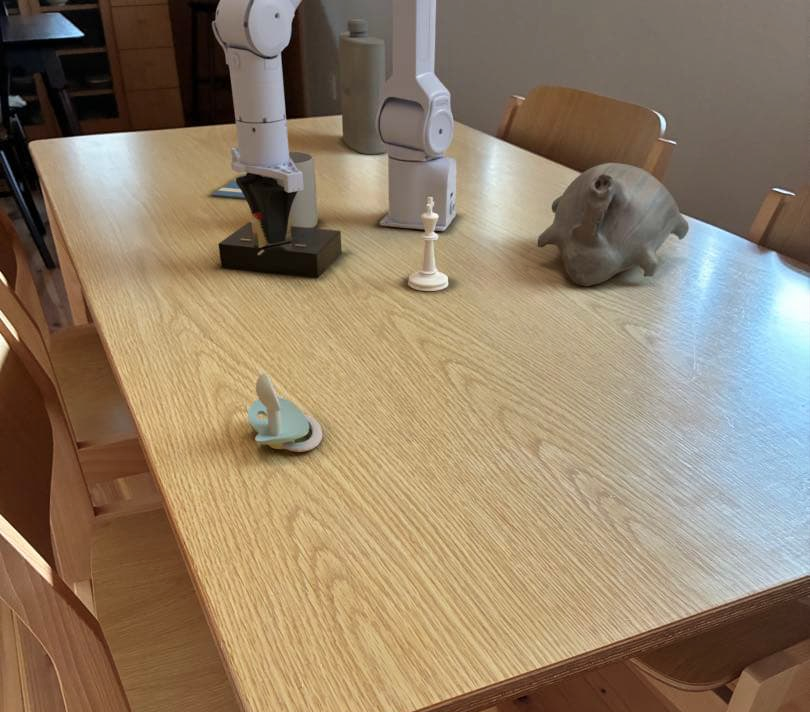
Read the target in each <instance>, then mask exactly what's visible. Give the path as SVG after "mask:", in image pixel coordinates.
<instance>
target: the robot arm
mask: <svg viewBox="0 0 810 712" xmlns="http://www.w3.org/2000/svg"><path fill="white" fill-rule="evenodd" d="M302 1H303V0H219V2H218V4H217V7H216V10H215V20H213V21H212V22H211V26H212V31H213V34H214V37H215V38H216V40H217V42H218V43H219V45H220V46H221V48H222V49H223V52H224V56H225V64H226V65H228V68H229V76H230V84H231V85H230V86H231V92H232V93H231V94H232V103H233V111H234V118H235V119H234V120H235V127H236V137H237V145H238V146H237V147H231V148H230V154H231V155H230V156H231V163H230V167H231V170H233V171H235V172H236V173H244V172H245V175H246V176H242V175H241V176H242V177H240V176H238V177H236V178H235V179H236V183H237V185H238V186H239V188H240V189H241V191H242V193H243V194H244V196H245V198H246V199H245V200H246V203H247V202H248V203H247V206H248V207H249V209H250V212H251V215H252V214H253V213H258V212H260V213H261V216H262V221H263V226H264V230H265V235H266V238H267V240H268V243H270V244H274V243H279V242H283V241H285V239H286V233H287V226H288V219H289V214H290V210H291V206H292V203H293V200H294V198H295V196H296V194H297V192H298V191H301V190H304V189H303V175H302V172H301V171H299V170H298V169H297V168H296V166H295V165H294V163H293V161H292V160H291V158H290V157H289V151H290V150H289V138H288V137H289V136H288V126H287V125H288V124H287V123H288V122H287V113H286V102H285V101H286V100H285V87H284V75H283V74H284V73H283V64H282V63H283V62H282V52H283V50H285V48H286V47H288V45H289V43H290V40H291V37H292V23H293V19H294V17H295V15H296V14H295V12H296V10H297V9H298V8H299V5H300V4H301V2H302ZM436 16H437V0H392V74H391V76H390V77H389V78H388V79H387V80H386V81H385V84H384V85H383V86H382V87H381V89H380V103H379V108H378V111H377V114H376V121H375V127H376V133H377V136H378V138H379V140H380V141H381V143H382V144H384V153H386V154H387V160H388V161H387V163H388V165H387V166H388V171H387V172H388V173H387V174H388V177H387V178H388V179H387V181H388V213H387V214H386V215H385V216H384V217H383V218H382V219H381V220H380V221H379V225H380V226H382V227H393V228H403V229H414V230H424V231H425V229H424V225H423V222H422V219H421V215H422V214H424V213H427V212H428V209H426V205H427V204H428V197H433V202H434V206H433V207H432V212H433V213H436V214H437V215H438V216H439V217H438V221H437V223H436V227H435V230H434V232H436V231H437V232H444V231H446V230H447V228H448V227H449V225H450V224H451V223H452V221H453V220H454V219H455V217H456V215H457V212H456V197H457V176H458V175H457V173H458V171H457V161H456V159H455V158H454V157H450V156H445V153H446V152H447V150H448V148H449V147H450V145H451V142H452V140H453V137H454V132H455V131H454V130H455V122H454V116H453V112H452V109H451V93H450V91H449V90H448V88H446V86H445V84H443V83H442V82H441V80H440V79H439V78H438V77H437V75H436V74H435V63H436V62H435V59H436V58H435V57H436V56H435V55H436V23H437V22H436V21H437V20H436V19H437V17H436Z"/></svg>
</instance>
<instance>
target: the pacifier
mask: <svg viewBox="0 0 810 712" xmlns="http://www.w3.org/2000/svg"><path fill="white" fill-rule="evenodd" d="M255 391H256V395H257V399H255V400H254V401H253V402H252V403H251V404H250V405H249V408H248V409H247V410H248V411H247V420H248V422H249V425H250V427H251V428H252V429H253V430H254V431H255V432H256V433H258V434H256V436H255V438H254V440H255V443H256V444H258V445H268V446H269V447H270V448H272V449H275V450H287V451H291V452H298V453H300V452H308V451H311V450H313V449H314V448H316V447H317V446H318V445H319V444H320V443H321V441H322V439H323V430H322V427H321V425H320V424H319V422H318V420H316V419H315V418H314V417H313V416H310V415H309V414H306V413H303V411H302V410H301V409H300V408H299V407H298V406H297V405H296V404H294V403H293V402H291V401H290V400H289V399H286V398H284V397H279V396H278V395H277V393H276V390H275V388H274V385H273V383H272V380H271V379H270V377H269V376H268V374H267V373H266V372H265V373H262V374H260V375H259V377H258V378H257V380H256V384H255ZM259 415H264V416H265V418H259V417H258V416H259ZM309 431H311V433H312V434H311V435H310V437H309V438H308V439H307V440H305V441H302V442H301V441H300V442H295V440H298V439H301V438H303V437H305V436H306V435H308V433H309Z"/></svg>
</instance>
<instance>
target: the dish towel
mask: <svg viewBox="0 0 810 712" xmlns="http://www.w3.org/2000/svg"><path fill="white" fill-rule="evenodd" d="M242 176H246V174H242V175H240V176H239V177H242ZM211 197H215V198H217V197H218V198H228V199H238V200H246V198H245V196H244V194H243V193H242V191H241V189H240V188H239V186H238V185H237V183H236V178H235V179H234V180H233V181H230V182H229V183H228V184H225V185H224V186H223V187H221V188H219V189H217V190H216V191H214V192H213V193H212V194H211Z"/></svg>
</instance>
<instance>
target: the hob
mask: <svg viewBox="0 0 810 712" xmlns="http://www.w3.org/2000/svg"><path fill="white" fill-rule="evenodd" d="M290 227H291V239H292V241H291V242H286V243H281V244H276V245H272V246H267V247H262V248H259V247H257V246H256V245H254V241H253V232H252V223H251V221H248V222H246V223H245V224H244V225H242V226H241V227H239V228H238V229H236V230H235V231H234V232H232V233H231V234H229V236H227V237H226V238H224V239H223V240H221V241H220V242H218V244H217V245H218V253H219V259H220V266H221V268H223V269H230V270H231V269H232V270H240V271H250V272H259V273H268V274H277V275H286V276H295V277H296V276H297V277H304V278H312V279H313V278H314V279H318V278H320V277H321V276H322V274H324V273H325V272H326V270H328V268H329V267H331V265H333V263H334V262H335V261H337V259H338V258H340V256H342V253H343V252H342V233H341V230H336V229H325V228H315V227H314V228H305V227H295V226H290Z"/></svg>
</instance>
